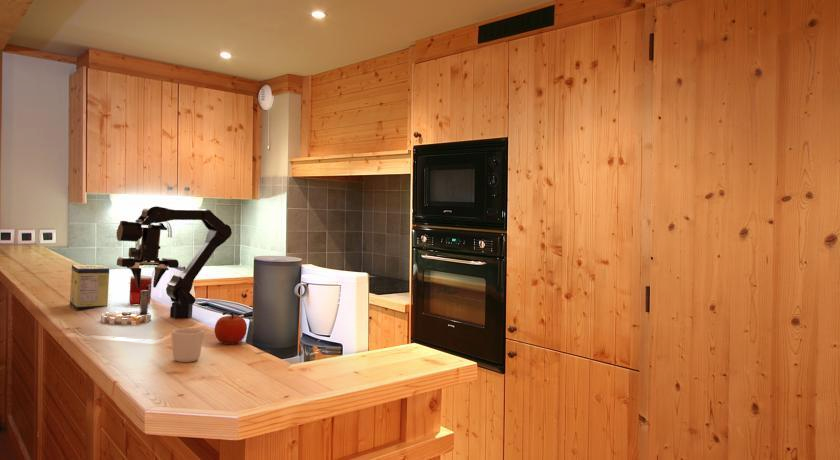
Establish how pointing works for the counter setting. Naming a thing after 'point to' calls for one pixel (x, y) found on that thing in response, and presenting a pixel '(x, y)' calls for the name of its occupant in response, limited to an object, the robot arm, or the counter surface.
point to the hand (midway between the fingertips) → (146, 287)
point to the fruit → (230, 328)
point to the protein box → (89, 287)
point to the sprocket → (130, 313)
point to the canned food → (139, 289)
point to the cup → (187, 344)
